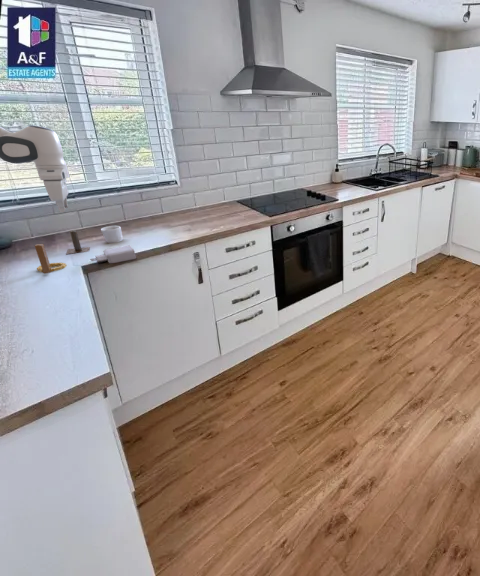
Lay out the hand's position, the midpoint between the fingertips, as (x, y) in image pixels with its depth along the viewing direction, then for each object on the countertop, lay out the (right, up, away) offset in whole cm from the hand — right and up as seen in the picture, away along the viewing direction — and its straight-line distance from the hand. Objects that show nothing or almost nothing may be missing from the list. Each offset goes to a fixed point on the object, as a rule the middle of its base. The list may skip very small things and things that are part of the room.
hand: (64, 209), depth 143 cm
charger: (+11, -19, +12) cm, 25 cm away
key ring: (-6, -23, +2) cm, 24 cm away
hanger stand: (-12, -15, +21) cm, 28 cm away
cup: (-7, -9, +36) cm, 38 cm away
